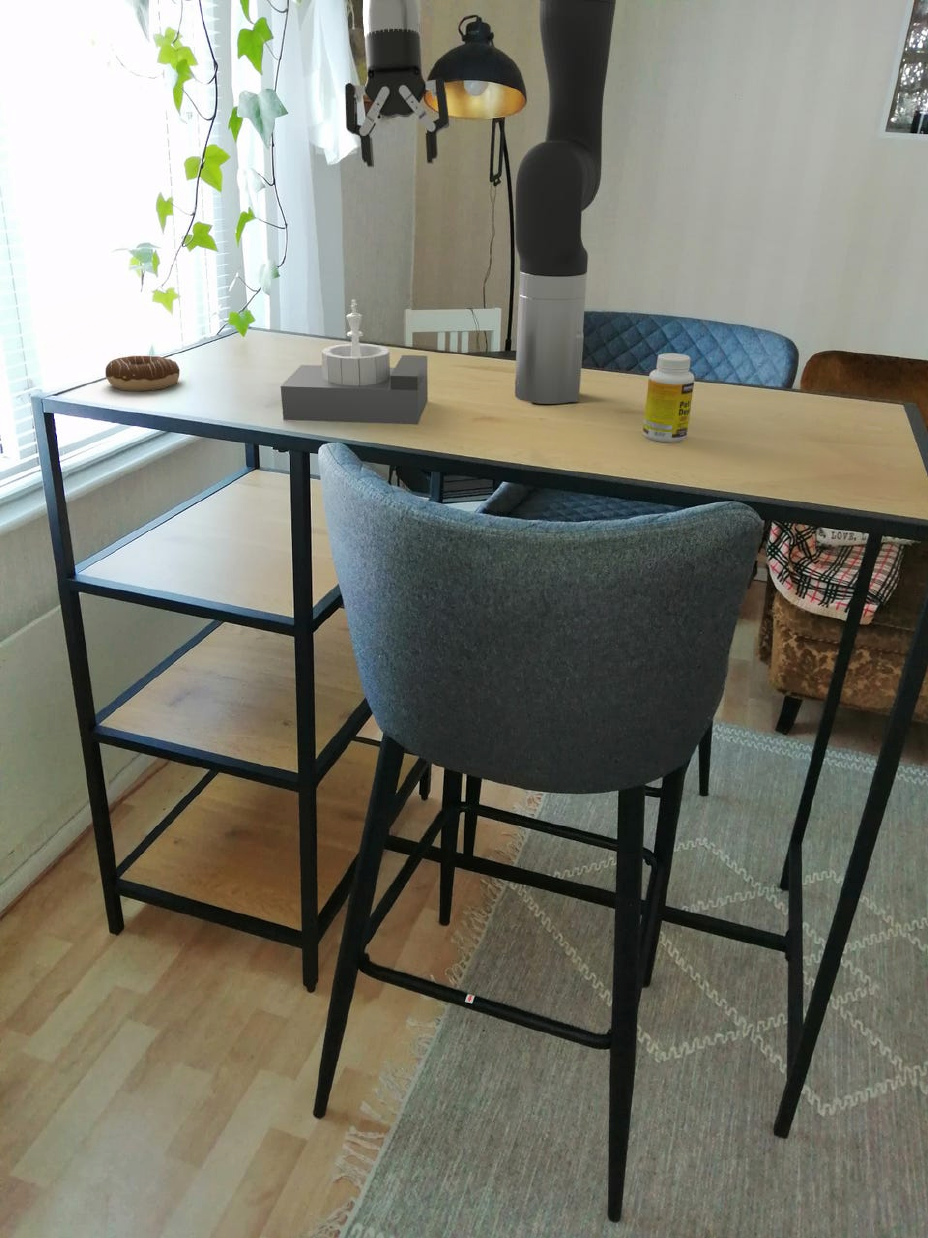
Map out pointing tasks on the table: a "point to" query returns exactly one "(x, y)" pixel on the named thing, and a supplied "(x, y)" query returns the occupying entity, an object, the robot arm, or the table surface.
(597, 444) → the table surface
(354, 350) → the chess piece
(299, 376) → the camera body
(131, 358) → the donut
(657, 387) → the supplement bottle
